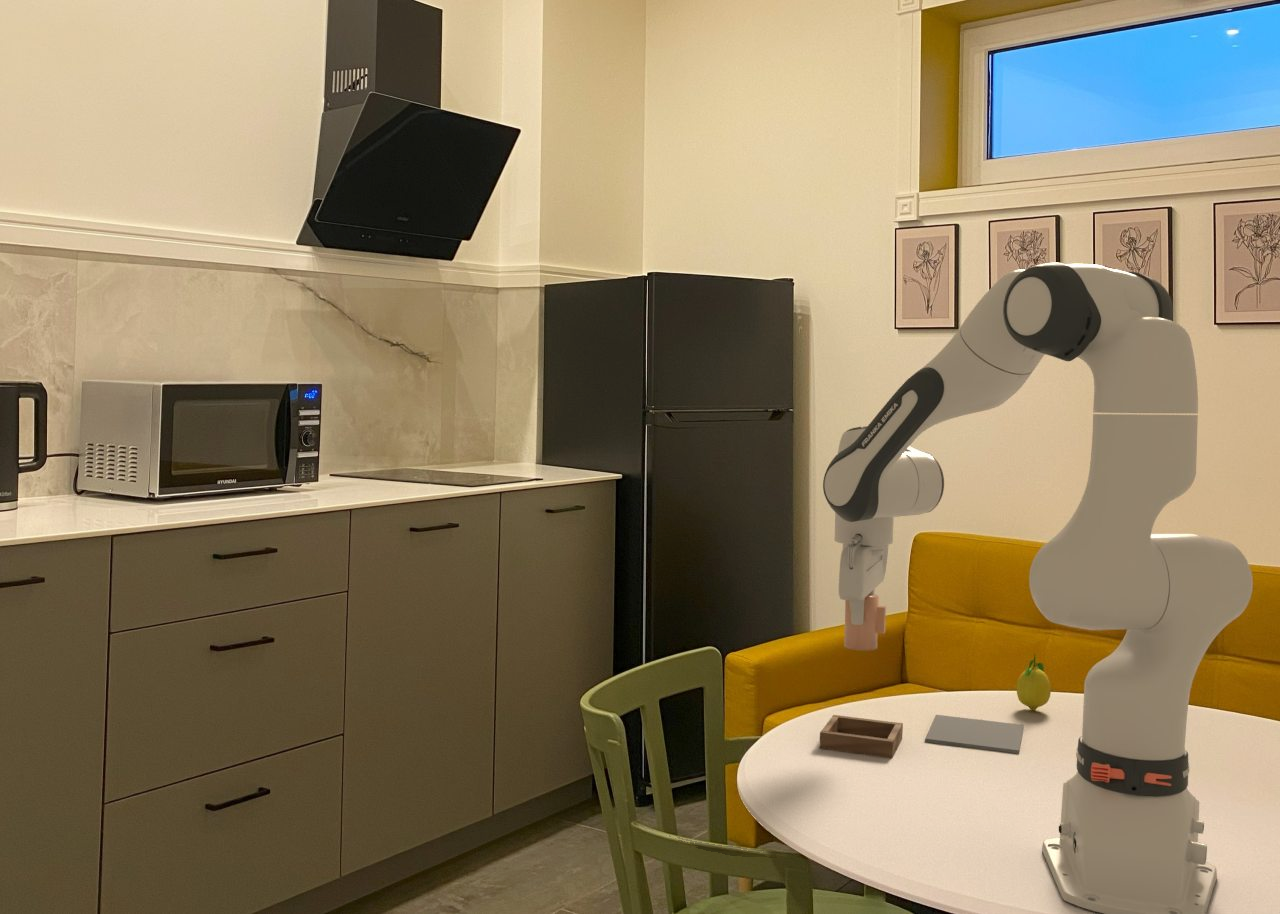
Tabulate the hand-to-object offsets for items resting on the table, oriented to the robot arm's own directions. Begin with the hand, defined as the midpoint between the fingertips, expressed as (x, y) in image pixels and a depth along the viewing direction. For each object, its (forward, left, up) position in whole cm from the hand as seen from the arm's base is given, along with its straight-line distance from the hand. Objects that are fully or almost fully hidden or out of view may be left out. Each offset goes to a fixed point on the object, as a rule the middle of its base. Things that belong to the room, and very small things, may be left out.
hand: (861, 620), depth 176 cm
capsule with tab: (0, 0, -4) cm, 4 cm away
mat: (+12, -16, -19) cm, 28 cm away
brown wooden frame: (0, 0, -19) cm, 19 cm away
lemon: (+30, -24, -20) cm, 44 cm away
